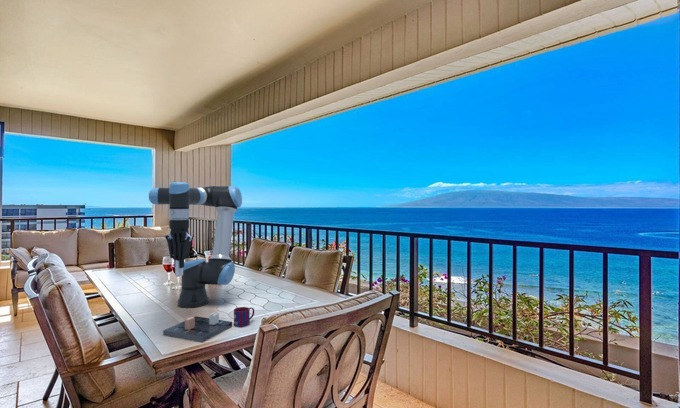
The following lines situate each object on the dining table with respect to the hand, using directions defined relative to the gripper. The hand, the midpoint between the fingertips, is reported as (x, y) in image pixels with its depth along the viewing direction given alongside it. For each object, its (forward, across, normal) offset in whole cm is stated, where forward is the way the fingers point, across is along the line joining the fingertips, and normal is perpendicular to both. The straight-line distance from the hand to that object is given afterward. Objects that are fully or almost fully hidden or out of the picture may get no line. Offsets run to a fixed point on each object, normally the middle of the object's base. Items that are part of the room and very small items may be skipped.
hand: (179, 275), depth 141 cm
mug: (+24, +20, +18) cm, 36 cm away
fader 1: (+21, +6, 0) cm, 22 cm away
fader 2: (+21, +11, +8) cm, 25 cm away
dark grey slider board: (+24, +7, +4) cm, 25 cm away
